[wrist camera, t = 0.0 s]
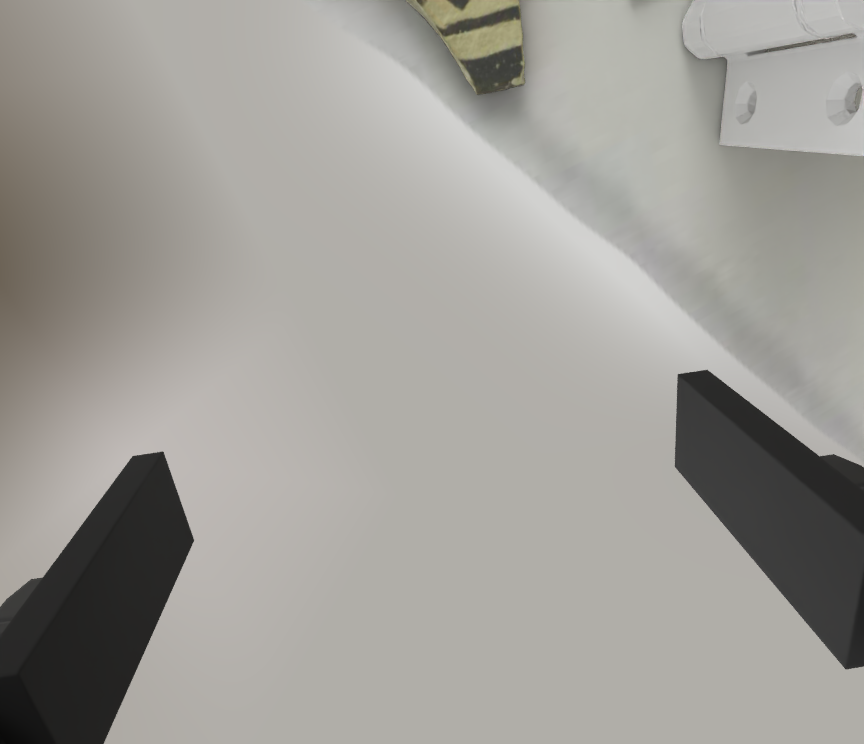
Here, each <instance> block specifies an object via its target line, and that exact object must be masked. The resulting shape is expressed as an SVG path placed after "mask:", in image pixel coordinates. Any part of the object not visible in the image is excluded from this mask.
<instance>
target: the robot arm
mask: <svg viewBox="0 0 864 744" xmlns="http://www.w3.org/2000/svg"><path fill="white" fill-rule="evenodd" d="M675 467H676V468H677V470H678V471H679V472H680V473H681V474H682V476H683V477H684V478H685V479H686V480H687V481H688V483H689V484H690V485H691V486H692V488H693V489H694V490H695V491H696V492H697V493H698V495H699V496H700V497H701V498H702V499H703V501H704V502H705V503H706V504H707V505H708V506H709V508H710V509H711V510H712V511H713V512H714V514H715V515H716V516H717V517H718V518H719V520H720V521H721V522H722V523H723V524H724V526H725V527H726V528H727V529H728V530H729V531H730V533H731V534H732V535H733V536H734V537H735V539H736V540H737V541H738V542H739V543H740V544H741V546H742V547H743V548H744V549H745V550H746V552H747V553H748V554H749V555H750V556H751V558H752V559H753V560H754V561H755V562H756V563H757V565H758V566H759V567H760V568H761V569H762V571H763V572H764V573H765V574H766V575H767V576H768V578H769V579H770V580H771V581H772V582H773V584H774V585H775V586H776V587H777V588H778V589H779V591H780V592H781V593H782V594H783V595H784V597H785V598H786V599H787V600H788V601H789V602H790V604H791V605H792V606H793V607H794V608H795V610H796V611H797V612H798V613H799V615H800V616H801V617H802V618H803V619H804V620H805V621H806V623H807V624H808V625H809V626H810V628H811V629H812V630H813V631H814V632H815V633H816V635H817V636H818V637H819V638H820V639H821V641H822V642H823V643H824V644H825V645H826V646H827V648H828V649H829V650H830V651H831V652H832V654H833V655H834V656H835V657H836V658H837V660H838V661H839V662H840V663H841V664H842V665H843V667H844V668H845V669H851V668H857V667H863V666H864V467H862V466H860V465H858V464H856V463H853V462H851V461H848V460H846V459H844V458H841V457H839V456H836V455H834V454H833V455H827V456H820V457H819V456H818V455H817V454H816V453H814V452H813V451H812V450H810V449H809V448H808V447H806V446H805V445H804V444H803V443H801V442H800V441H799V440H797V439H796V438H795V437H794V436H792V435H791V434H790V433H788V432H787V431H786V430H784V429H783V428H782V427H780V426H779V425H778V424H777V423H775V422H774V421H773V420H771V419H770V418H769V417H768V416H766V415H765V414H764V413H762V412H761V411H760V410H759V409H757V408H756V407H755V406H753V405H752V404H751V403H750V402H748V401H747V400H745V399H744V398H743V397H742V396H740V395H739V394H738V393H737V392H735V391H734V390H733V389H731V388H730V387H729V386H727V385H726V384H725V383H724V382H722V381H721V380H720V379H718V378H717V377H716V376H714V375H713V374H712V373H711V372H709V371H708V370H703V371H697V372H690V373H684V374H678V384H677V416H676V447H675ZM193 542H194V539H193V536H192V533H191V530H190V528H189V524H188V522H187V518H186V516H185V513H184V510H183V507H182V504H181V502H180V498H179V495H178V493H177V490H176V487H175V484H174V481H173V479H172V475H171V472H170V470H169V467H168V464H167V461H166V458H165V455H164V452H157V453H151V454H144V455H137V456H133V457H132V458H131V459H130V461H129V462H128V463H127V465H126V466H125V467H124V469H123V470H122V471H121V473H120V474H119V476H118V477H117V478H116V479H115V481H114V482H113V484H112V485H111V486H110V488H109V489H108V491H107V492H106V493H105V494H104V496H103V497H102V499H101V500H100V501H99V502H98V504H97V505H96V507H95V508H94V509H93V511H92V512H91V514H90V515H89V516H88V518H87V519H86V520H85V521H84V523H83V524H82V525H81V527H80V528H79V530H78V531H77V532H76V534H75V535H74V536H73V538H72V539H71V541H70V542H69V543H68V544H67V546H66V547H65V549H64V550H63V551H62V553H61V554H60V555H59V557H58V558H57V559H56V561H55V562H54V563H53V565H52V566H51V567H50V569H49V570H48V572H47V573H46V574H45V576H44V577H43V578H37V579H31V580H30V581H28V582H27V583H26V584H25V585H24V586H22V587H21V588H20V589H19V590H18V591H16V592H15V593H14V594H13V595H11V596H10V597H9V598H8V599H6V601H5V602H4V603H3V604H2V606H1V607H0V744H104V741H105V739H106V737H107V735H108V732H109V730H110V728H111V726H112V723H113V721H114V719H115V717H116V714H117V712H118V710H119V708H120V705H121V703H122V701H123V699H124V696H125V694H126V692H127V689H128V687H129V685H130V683H131V681H132V678H133V676H134V674H135V672H136V670H137V667H138V665H139V663H140V660H141V658H142V656H143V654H144V651H145V649H146V647H147V645H148V643H149V640H150V638H151V636H152V634H153V631H154V629H155V627H156V624H157V622H158V620H159V618H160V616H161V613H162V611H163V609H164V607H165V604H166V602H167V600H168V598H169V595H170V593H171V591H172V589H173V586H174V584H175V582H176V580H177V577H178V575H179V573H180V571H181V569H182V566H183V564H184V562H185V560H186V557H187V555H188V553H189V551H190V548H191V546H192V543H193Z"/></svg>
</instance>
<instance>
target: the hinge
mask: <svg viewBox="0 0 864 744" xmlns="http://www.w3.org/2000/svg"><path fill="white" fill-rule="evenodd" d="M682 31H683V40H684V45H685V47H686V48H687V49H688V50H689V51H690V52H691V53H692V54H694V55H695V56H696V57H697V58H698V59H709V58H719V57H725V58H726V59H727V73H726V83H725V92H724V102H723V112H722V122H721V132H720V142H719V145H725V146H738V147H751V148H764V149H777V150H790V151H803V152H816V153H829V154H842V155H855V156H864V0H694V1H693V2H692V4H691V6H690V7H689V9H688V11H687V13H686V15H685V17H684V19H683V21H682ZM850 33H852V34H855V35H857V37H852V38H847V39H841V40H835V41H829V42H824V43H818V44H812V45H806V46H800V47H795V48H789V49H783V50H777V51H771V52H766V49H768V48H774V47H779V46H785V45H790V44H796V43H801V42H807V41H812V40H818V39H823V38H825V39H830V38H835V37H838V36H842V35H845V34H850ZM861 86H862V90H863V91H862V97H861V102H860V105H859V109H858V111H857V110H856V106H855V97H856V94H857V90H858V89H859V88H860V87H861Z"/></svg>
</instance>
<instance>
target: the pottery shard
mask: <svg viewBox="0 0 864 744" xmlns="http://www.w3.org/2000/svg"><path fill="white" fill-rule="evenodd" d="M406 1H407V2H408V3H409V4H410V5H411V6H412V7H413V8H414V9H416V10H417V11H418V12H419V13H420V14H421V15H422V16H423V17H424V18H425V19H426V21H427V22H428V23H429V24H430V25H431V26H432V28H433V29H434V30H435V32H436V33H437V34H438V35H439V36H440V37H441V39H442V40H443V42H444V43H445V45H446V46H447V47H448V49H449V50H450V52H451V54H452V55H453V57H454V59H455V60H456V62H457V63H458V65H459V67H460V68H461V70H462V72H463V74H464V76H465V78H466V79H467V81H468V82H469V84H470V85H471V86H472V87H473V89H474V90H475V92H476V94H477V95H479V94H485V93H491V92H496V91H500V90H505V89H509V88H513V87H517V86H521V85H524V84H525V78H524V66H525V62H524V55H523V33H522V26H521V13H520V4H519V0H406Z"/></svg>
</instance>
